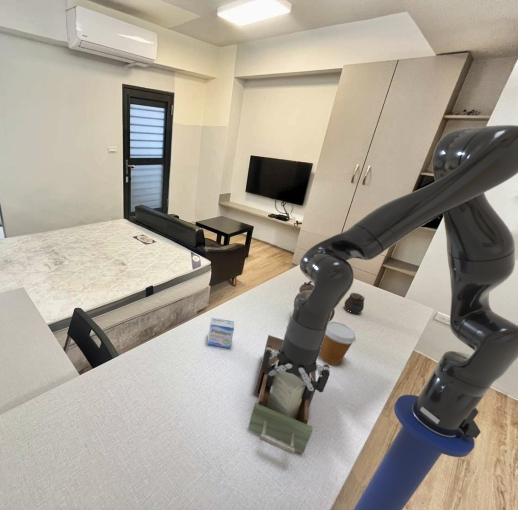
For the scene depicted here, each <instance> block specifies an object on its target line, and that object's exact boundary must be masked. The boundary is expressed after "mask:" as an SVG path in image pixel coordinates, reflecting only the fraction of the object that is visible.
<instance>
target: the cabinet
mask: <svg viewBox="0 0 518 510" xmlns="http://www.w3.org/2000/svg"><path fill="white" fill-rule="evenodd" d="M283 340H284V339H282V338H278V337H276V336H273V335H271V334H269V335H268V336H267V338H266V344H265V347H264V351H263V355H262V358H261V363H260V367H259V370H258V374H257V379H256V382H255V383H256V384H255V386H254V391H253V396H256V397H258V398H259V393H260V389H261V385H262V381H263V377H264V373H267V372H266V371H263V370H262V364H263V360H264V356H265V352H266V348H267V346H268V345H270V346H271V347H272V349H274V350H277V351H278V350H280V349H281V347H282V344H283ZM277 360H278V358H277V356H274V357H273V358H272V359H269V363H268V364H270V365H272V364H274V363H276V361H277ZM316 372H317V370H315V371H313V372H311V376H312V379H313V381H317V375H316V374H317V373H316ZM267 374H268V373H267ZM297 377H298V376H297ZM298 378H300V379H301V380H302V381H303V382H304V380H303V378H302V376H300V377H298ZM305 384H306V383H305ZM315 393H316V390H313V391H312V394H311V396H310V399H309V400H308V410H309V408H310V406H311V404H312V400H313V398H314V395H315Z"/></svg>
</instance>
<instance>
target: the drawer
mask: <svg viewBox="0 0 518 510" xmlns="http://www.w3.org/2000/svg"><path fill="white" fill-rule="evenodd" d="M267 376H268V374H267V373H264V377H263V381H262V385H261V389H260V393H259V397H258V399H257V402H254V404H253V408H252V412H251V415H250V419H249V423H248V427H247V430H248V431H251V432H252V433H255V434H258V435H259V436H260V437H259V440H260V441H263V442H265V443H266V444H267V443H268V444H269V445H272V446H274V447H275V448H278V449H280V450H283V452H287V453H288V454H291V455H295V452H297V453H299V454H300V455H304V454H305V453H304V452H305V450H306V448H307V446H308V443H309V441H310V438H311V435H312V432H313V426H311V425H309V424H308V422H309V409H308V400H307V399H306V401H303V400H302V401H301V404H300V407H299V410H298V413H297V417H296V420H295V419H293V418H290V417H288V416H285V415H283V414H281V413H278V412H276V411H274V410H271V409H269V408H266V406H267V402H268V398H269V394H270V390H271V388H270V387H268V384H266V380H267Z"/></svg>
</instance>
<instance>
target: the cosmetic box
mask: <svg viewBox="0 0 518 510" xmlns="http://www.w3.org/2000/svg"><path fill="white" fill-rule="evenodd" d="M305 387H306V384H305V383H304V382H303V381H302V380H301V379H300V378H298V377H297V376H296V375H294V374H291V373H287V372H286V371H283V372H282V373H280V374H279V373H277V374H276V375H274V379H273V382H272V386H271V390H270V394H269V398H268V402H267V406H266V408H269V409H271V410H274V411H276V412H278V413H281V414H283V415H285V416H288V417H290V418H293V419H295V420H296V417H297V413H298V410H299V407H300V404H301V401H302V397H303V394H304V391H305Z"/></svg>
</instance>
